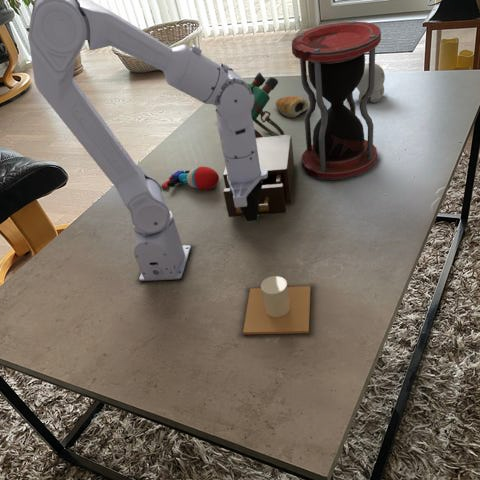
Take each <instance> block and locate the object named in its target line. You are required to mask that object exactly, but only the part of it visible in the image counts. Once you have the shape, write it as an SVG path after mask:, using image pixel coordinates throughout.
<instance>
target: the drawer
mask: <svg viewBox="0 0 480 480" xmlns="http://www.w3.org/2000/svg"><path fill="white" fill-rule="evenodd" d="M229 191H230V186H229V188H226V187H225V188H223V191H222V193H223V197H224V201H225V207H226V211H227V216H228V218H237V217H244V215H243V213H242V211H241V209H240V207H235V205H234V200H233V199H232V198H231V196H230V192H229ZM284 192H285V184H284V175H283V173H278V174H268V177H267V178H266V179H263V185H262V190H261V193H260V196H259V214H258V216H263V215H264V216H265V215H280V214H286V213H287V205H286V204H285V195H284Z"/></svg>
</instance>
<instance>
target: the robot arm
mask: <svg viewBox="0 0 480 480" xmlns="http://www.w3.org/2000/svg"><path fill="white" fill-rule="evenodd" d="M27 39H28V40H27V41H28V44H29V45H28V46H29V51H30V58H31V65H32V72H33V73H32V74H33V80H34V86H35V87H36V88H37V90H38V91H39V93H40V94H41V96H42V97H43V98H44V99H45V101H46V102H47V103H48V104H49V106H50V107H51V108H52V109H53V111H54V112H55V113H56V115H58V117H59V118H60V119H61V121H62V122H63V123H64V124H65V126H66V127H67V128H68V129H69V131H70V132H71V133H72V134H73V136H74V137H75V138H76V139H77V141H78V142H79V143H80V145H81V147H83V149H85V151H86V152H87V153H88V155H89V156H90V157H91V158H92V160H93V161H94V162H95V164H96V165H97V166H98V167H99V169H100V170H101V172H103V173H104V176H106V177H107V179H108V180H109V181H110V182H111V184H112V185H113V186H114V187H115V189H116V191H117V193H118V196H119V197H120V199H121V200H122V203H123V204H124V206H125V208H126V209H127V210H128V211H129V214H130V218H131V223H132V228H133V231H134V233H135V245H134V249H133V256H134V258H135V260H136V263H137V265H138V268H139V270H140V275H139V277H138V280H139V281H141V282H146V281H147V282H150V281H168V280H180V279H182V277H183V274H184V271H185V267H186V265H187V261H188V258H189V255H190V252H191V249H192V246H191V245H189V244H184V245H183V244H182V240H181V237H180V234H179V231H178V230H179V229H178V227H177V224H176V222H175V217H174V214H173V212H172V211H171V210H170V209H169V206H168V205H167V203H166V201H165V198H164V195H163V190H162V187H161V186H162V185H161V184H160V183H159V182H158V181H157V180H156V179H155V178H154V177H152V176H150V175H148V174H147V173H146V172H145V171H144V170H143V169H142V167H140V166H139V165H138V164H137V163H136V162H135V161H134V160H133V158H132V157H131V156H130V154H129V153H128V151H127V150H126V149H125V147H124V146H123V145H122V143H121V142H120V141H119V139H118V137H117V136H116V135H115V133H114V131H113V130H111V128H110V126H109V125H108V124H107V122H106V121H105V120H104V117H102V116H101V114H100V113H99V111H98V110H97V109H96V107H95V106H94V105H93V103H92V102H91V100H90V99H89V98H88V96H87V95H86V94H85V92H84V90H83V89H82V88H81V87H80V85H79V84H78V83H77V81H76V80H75V78H74V73H75V67H76V61H77V58H78V56H79V54H80V53H81V51H82V49H83V47H84V45H85V43H86V41H87V45H88V48H89V49H88V50H89V51H95V50H99V49H102V48H103V49H104V48H106V47H111V48H115V49H117V50H119V51H121V52H122V53H124V54H127V55H129V56H131V57H133V58H135V59H137V60H139V61H141V62H143V63H145V64H148V65H149V66H152V67H153V68H156V69H158V70H160V71H162V72H163V74H164V78H165V81H166V83H167V84H168V86H170V87H172V88H174V89H176V90H178V91H180V92H182V93H183V94H186V95H187V96H190V97H191V98H192V99H195V100H197V101H199V102H201V103H203V104H204V105H205V104H206V105H212V106H214V107H215V108H216V109H215V115H216V120H217V130H218V134H219V139H220V144H221V150H222V154H223V160H224V164H225V167H226V169H227V174H228V175H227V180H228V183H229V186H230V191H229V192H230V196H231V198H232V199H233V200H234V205H235V207H240V209H241V211H242V213H243V215H244V216H243V217H244V219H245V221H246V222H256V221H258V219H259V215H258V214H259V196H260V193H261V190H262V185H263V179H266V178H267V177H268V171H267V170H266V169H265V170H262V169H261V168H260V164H259V157H258V151H257V144H256V137H255V130H256V129H255V125H254V121H253V119H252V115H251V110H252V108H253V105H254V95H252V91H251V89H250V87H249V85H248V84H249V83H248V82H246V81H245V80H244V79H243V77H241V76H240V74H238V73H237V72H236V71H234V69H233V68H232V67H229V65H227V64H226V63H224V62H222V63H221V64H219V63H217V62H215V61H214V60H212V59H210V58H209V57H207V56H205V55H204V54H202V53H203V51H202V49H201V47H199V46H197V45H195V44H191V46H188V45H186V44H184V43H183V44H180V45H177V46H176V45H175V46H174V47H170V46H168V45H166V44H165V43H163V42H162V41H160V40H159V39H157V38H155V37H154V36H152V35H150V34H149V33H147V32H145V31H144V30H142V29H141V28H139V27H138V26H136V25H134V24H132V22H129V21H128V20H126V19H125V18H123V17H121V16H119V14H116V13H115V12H113V11H112V10H109V9H108V8H106V7H104V6H102V5H100V4H98V3H97V2H94V1H93V0H34V1H33V5H32V10H31V15H30V21H29V29H28V35H27ZM247 83H248V84H247ZM254 129H255V130H254Z"/></svg>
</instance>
